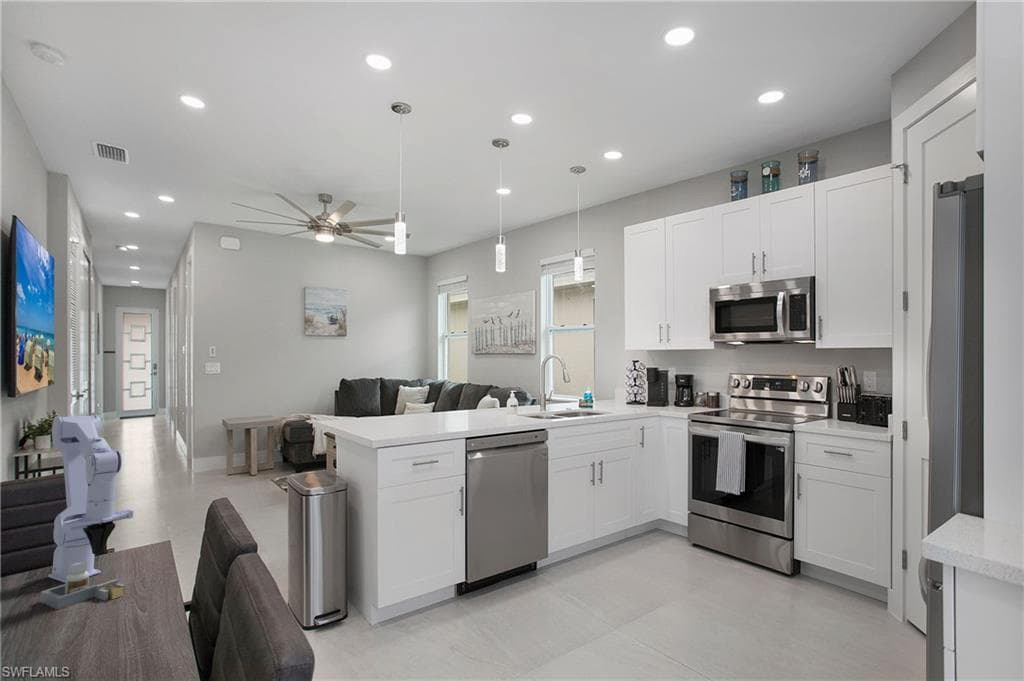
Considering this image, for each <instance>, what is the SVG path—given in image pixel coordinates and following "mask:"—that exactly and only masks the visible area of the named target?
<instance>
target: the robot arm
mask: <svg viewBox="0 0 1024 681" xmlns="http://www.w3.org/2000/svg"><path fill="white" fill-rule="evenodd" d="M101 428H102V421H101V417H100V416H99V415H98V414H93V415H79V416H78V415H77V416H75V415H73V416H56V417H55V418H54V419H53V421H52V425H51V439H52V445H53V449H54V450H57V451H60V454H61V455H62V460H63V474H64V484H65V498H66V508H65V509H64V510H63V511H61V512H60V513H59V514H58V515H56V517H55V519H54V522H53V523H54V525H53V526H54V528H53V541H54V544H56V545H57V546H56V548H55V550H54V551H53V561H52V572H51V574H50V573H49V574H48V575H47V577H48V578H50V579H53V580H56V581H59V582H62V583H64V584H66V577H67V576H68V575H69V574H70V573H69V566H71V565H73V564H76V563H87V570H86V571H87V572H88V573H89V577H92V576H95V575H98V574H101V572H102V571H101V570H99V569H95V556H97V555H100V554H103V553H104V549H105V546H106V544H107V542H108V539H109V537H110V536H111V534H112V532H113V531H114V530H115V529H116V523H114V522H117V521H122V520H126V519H133V518H134V510H133V509H126V510H121V511H120V510H119V511H115V508H116V507H115V505H116V493H117V492H116V489H117V478H118V476H117V474H118V473H120V471H121V468H122V461H123V460H122V455H121V453H120V450H115V449H113V450H112V448H111V446H110V445H109V444H108V442H107V440H106V439H105V438H103V437H101V436H99V433H100V431H101Z"/></svg>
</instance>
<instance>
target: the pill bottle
mask: <svg viewBox="0 0 1024 681" xmlns="http://www.w3.org/2000/svg"><path fill="white" fill-rule="evenodd" d="M86 570H87V563H76V564H73V565H71V566H69V573H70V574H69V575H68V576H67V577H66V583H64V584H65V595H66V594H69V593H72V592H75V591H78V590H81V589H84V588H87V587H89V583H90V582H89V580H90V576H89V573H88V572H87V571H86Z"/></svg>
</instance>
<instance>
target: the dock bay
mask: <svg viewBox="0 0 1024 681" xmlns="http://www.w3.org/2000/svg"><path fill="white" fill-rule="evenodd" d="M119 581H120V580H119V578H115V579H111V580H108V581H106V582H103V583H100V584H94V585H91V586H88V587H87V588H84V589H81V590H78V591H75V592H72V593H69V594H66V595H65V584H66V583H64V584H61V585H57V586H55V587H52V588H48V589H46V590H42V591H40V595H39V596H40V597H39V602H40V601H41V602H43V603H45V604H47V605H46V606H48V605H49V606H48V607H50V606H51V607H50V608H53V609H55V610H59V609H63V608H66V607H69V606H72V605H74V604H77V603H80V602H84V601H86V600H89V599H92V598H96V599H99V600H102V601H107V600H108V599H109V596H108V592H109V591H107V590H105V589H102V588H103V587H106V586H109V585H110V586H113V587H116V588H121V587H122V588H124V589H123V595H124V594H126V584H124V583H121V582H119ZM43 603H42V604H43ZM45 604H44V605H45Z"/></svg>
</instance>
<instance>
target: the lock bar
mask: <svg viewBox="0 0 1024 681" xmlns="http://www.w3.org/2000/svg"><path fill="white" fill-rule="evenodd" d="M102 589H105V590H107V591H109V592H108V597H109V598H110V600H114V599H116V598H117V599H118V598H120V597H122V596H124V594H123V589H124V588H122V587H121V588H116V587H113V586H112V585H109V586H106V587H103V588H102Z"/></svg>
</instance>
